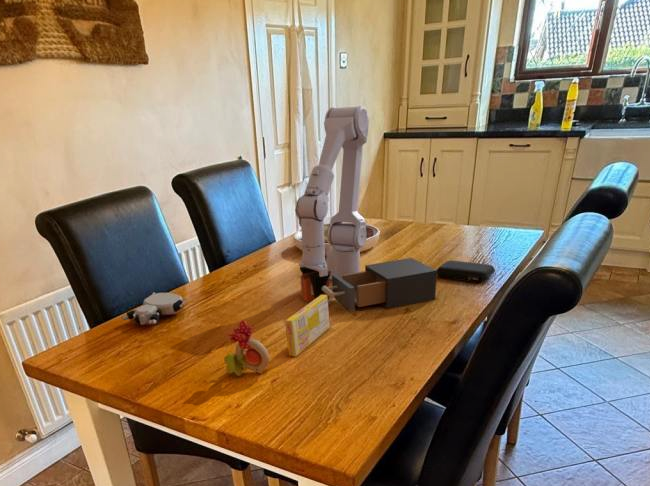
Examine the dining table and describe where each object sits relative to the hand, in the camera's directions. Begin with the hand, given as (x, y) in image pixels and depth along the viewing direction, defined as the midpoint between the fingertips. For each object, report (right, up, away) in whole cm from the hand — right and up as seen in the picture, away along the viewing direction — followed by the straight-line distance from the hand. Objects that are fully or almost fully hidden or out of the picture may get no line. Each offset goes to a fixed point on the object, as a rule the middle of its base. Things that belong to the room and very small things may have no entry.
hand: (315, 295), depth 139 cm
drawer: (+10, -3, -6) cm, 12 cm away
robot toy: (-42, -7, -4) cm, 43 cm away
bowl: (+10, +26, +43) cm, 51 cm away
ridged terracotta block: (0, -1, 0) cm, 1 cm away
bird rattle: (-15, -23, -34) cm, 44 cm away
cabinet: (+22, -1, -3) cm, 22 cm away
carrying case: (+42, +6, +6) cm, 43 cm away
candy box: (-3, -15, -24) cm, 28 cm away
